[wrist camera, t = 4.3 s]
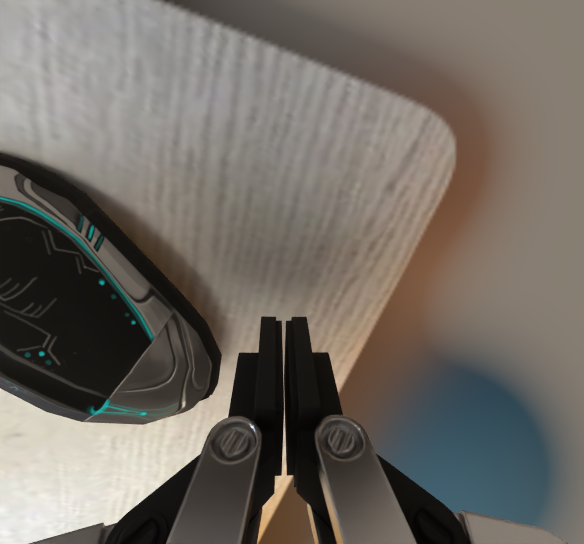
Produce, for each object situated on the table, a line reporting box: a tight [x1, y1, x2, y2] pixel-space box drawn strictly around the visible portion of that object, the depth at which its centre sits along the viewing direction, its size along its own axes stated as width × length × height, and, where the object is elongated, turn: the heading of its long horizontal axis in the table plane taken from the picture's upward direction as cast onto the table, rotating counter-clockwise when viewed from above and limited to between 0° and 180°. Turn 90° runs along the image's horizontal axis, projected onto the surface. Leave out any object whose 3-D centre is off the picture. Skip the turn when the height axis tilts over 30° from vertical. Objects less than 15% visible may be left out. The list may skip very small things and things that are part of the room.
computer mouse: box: [0, 154, 222, 425], centre depth 12 cm, size 9×17×6 cm, turn 46°
